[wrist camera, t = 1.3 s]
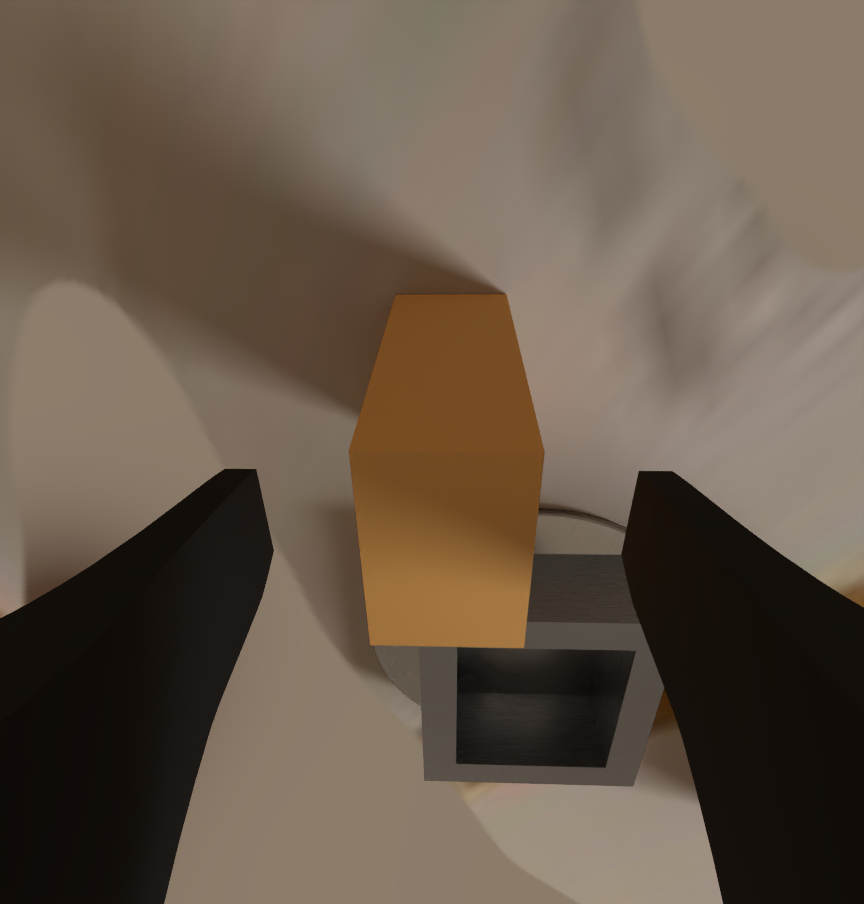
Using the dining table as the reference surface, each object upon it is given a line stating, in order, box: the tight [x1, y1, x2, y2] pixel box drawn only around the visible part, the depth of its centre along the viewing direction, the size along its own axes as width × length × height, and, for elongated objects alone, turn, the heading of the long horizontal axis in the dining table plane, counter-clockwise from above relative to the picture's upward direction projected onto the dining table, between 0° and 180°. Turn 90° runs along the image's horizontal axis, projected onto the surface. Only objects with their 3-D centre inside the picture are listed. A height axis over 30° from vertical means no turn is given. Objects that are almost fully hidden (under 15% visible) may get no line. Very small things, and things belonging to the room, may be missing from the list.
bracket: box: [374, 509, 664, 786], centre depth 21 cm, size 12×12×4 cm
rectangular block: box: [349, 294, 544, 648], centre depth 13 cm, size 3×4×8 cm, turn 1°
